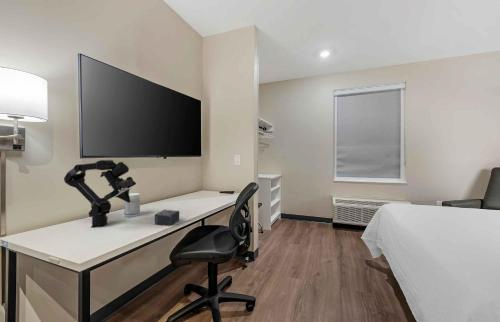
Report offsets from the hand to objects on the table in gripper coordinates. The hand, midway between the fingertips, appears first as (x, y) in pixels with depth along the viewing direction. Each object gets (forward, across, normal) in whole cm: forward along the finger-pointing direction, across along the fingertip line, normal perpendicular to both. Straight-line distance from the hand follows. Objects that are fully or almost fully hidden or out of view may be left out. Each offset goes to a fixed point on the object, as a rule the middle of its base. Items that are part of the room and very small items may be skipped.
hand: (129, 202), depth 121 cm
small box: (+17, +5, -7) cm, 19 cm away
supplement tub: (+10, +13, +20) cm, 26 cm away
